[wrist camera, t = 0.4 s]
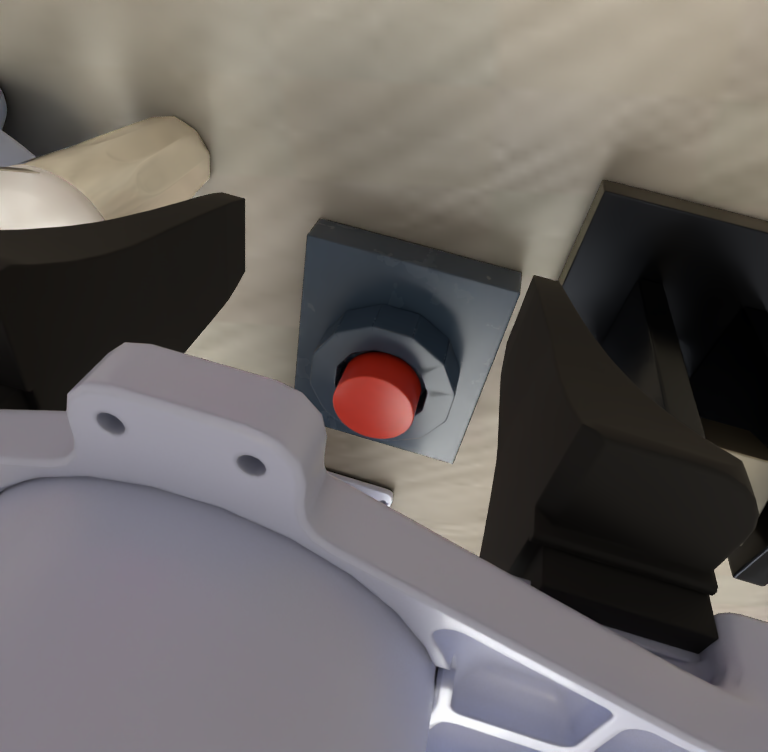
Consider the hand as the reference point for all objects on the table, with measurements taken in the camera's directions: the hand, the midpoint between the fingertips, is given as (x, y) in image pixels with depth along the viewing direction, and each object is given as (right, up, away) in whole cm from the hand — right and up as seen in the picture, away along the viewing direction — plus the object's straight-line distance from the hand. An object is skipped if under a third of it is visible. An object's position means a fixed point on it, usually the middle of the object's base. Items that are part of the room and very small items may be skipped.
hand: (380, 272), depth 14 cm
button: (0, -3, +12) cm, 12 cm away
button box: (+1, -1, +14) cm, 14 cm away
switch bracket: (+12, 0, +10) cm, 16 cm away
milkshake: (-9, +7, +10) cm, 15 cm away
